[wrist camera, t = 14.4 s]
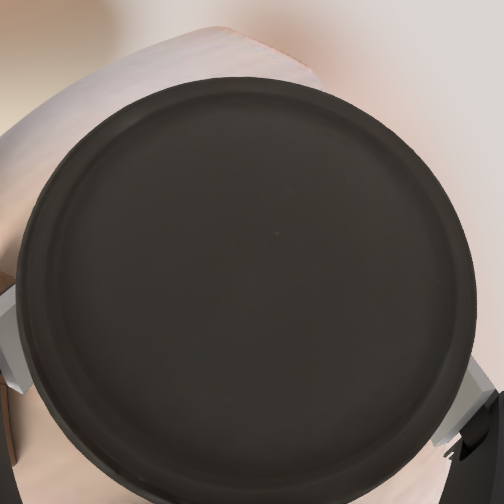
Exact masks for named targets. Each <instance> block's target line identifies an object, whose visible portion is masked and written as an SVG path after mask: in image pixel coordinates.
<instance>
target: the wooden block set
mask: <svg viewBox="0 0 504 504" xmlns="http://www.w3.org/2000/svg"><path fill="white" fill-rule="evenodd" d="M15 282H16V280H15V279H13V278H12V277H10V276H8V275H7V274H5V273H3V272H2V271H0V293H1V292H2V293H3V291H4V290H5V289H6V288H7V287H9V286H10V285H11V284H13V283H15ZM6 384H7V383H6V381H5V379H4V377H3V375H2V373H1V375H0V388H1V402H2V413H3V421H4V429H5V435H6V441H7V446H8V452H9V456H10V461H11V465H12V466H15V465H16V459H15V454H14V449H13V443H12V437H11V430H10V422H9V412H8V400H7V385H6Z"/></svg>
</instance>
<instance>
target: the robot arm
mask: <svg viewBox="0 0 504 504" xmlns="http://www.w3.org/2000/svg"><path fill="white" fill-rule="evenodd" d="M15 284H16V282H15V283H13V284H11V285H10V286H9V287H7V288H6V289H5V290H4V291H3V293H2V292H1V293H0V375H1V373H2V375H3V377H4V379H5V381H6V383H7V384H8V386H9V387H11V388H13V389H14V390H16V391H18V392H19V393H21V394H23V395H25V393H26V392H27V390H28V389H29V387H30V386H31V384H32V383H33V380H32V378H31V375H30V372H29V369H28V366H27V363H26V360H25V357H24V353H23V350H22V346H21V342H20V337H19V331H18V325H17V318H16V299H15ZM459 432H460V434H461V436H462V437H461V438H460V439H459V440H458V441H457V442H456V443H455V444H454V445H453V446H452V447H451V448H450V449H449V450H448V451H447V452H446V453H445V454H444V456H443V457H445V458H446V457H447V456H448V455H449V454H450V453H451V452H454V454H453V455H452V456H451V457H449V459H450V460H452V462H451V466H450V470H449V473H448V477H447V480H446V483H445V486H444V490H443V492H442V495H441V498H440V501H439V504H504V391H502V392H501V393H500V394H499V393H498V391H497V390H496V389H495V387H494V385H493V384H492V382H491V381H490V380H489V378H488V377H487V375H486V374H485V373H484V371H483V370H482V369H481V367H480V366H479V365H478V363H477V362H476V361H475V360H474V358H473V357H472V355H471V356H470V360H469V364H468V367H467V370H466V373H465V375H464V378H463V381H462V384H461V386H460V389H459V391H458V394H457V396H456V398H455V400H454V402H453V404H452V406H451V408H450V410H449V411H448V413H447V414H446V416H445V418H444V420H443V421H442V423H441V424H440V426H439V427H438V429H437V430H436V431H435V433H434V434H433V436H432V437H431V441H432V443H433V445H434V447H435V446H439V445H442V444H445V443H448V442H450V441H451V440H452V439H453V438H454V436H456V435H457V434H458V433H459ZM0 504H23V503H22V500H21V497H20V494H19V491H18V488H17V484H16V481H15V477H14V473H13V469H12V465H11V461H10V456H9V452H8V446H7V441H6V435H5V429H4V421H3V413H2V402H1V388H0Z"/></svg>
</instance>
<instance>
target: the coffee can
mask: <svg viewBox="0 0 504 504" xmlns="http://www.w3.org/2000/svg"><path fill="white" fill-rule="evenodd" d="M476 290H477V289H476V280H475V273H474V267H473V261H472V257H471V253H470V249H469V246H468V242H467V240H466V237H465V234H464V230H463V228H462V226H461V223H460V220H459V218H458V216H457V213H456V212H455V209H454V207H453V205H452V203H451V201H450V200H449V197H448V196H447V194H446V192H445V191H444V189H443V187H442V186H441V184H440V182H439V181H438V180H437V178H436V177H435V176H434V174H433V173H432V171H431V170H430V169H429V167H428V166H427V165H426V164H425V163H424V162H423V160H422V159H421V158H420V157H419V156H418V155H417V154H416V153H415V152H414V150H413V149H411V148H410V147H409V146H408V145H407V144H406V143H405V142H404V141H403V140H402V139H401V138H399V137H398V136H397V135H396V134H395V133H394V132H393V131H391V130H390V129H388V128H387V127H386V126H384V125H383V124H382V123H380V122H379V121H378V120H376V119H375V118H373V117H372V116H370V115H369V114H367V113H365V112H364V111H362V110H360V109H358V108H357V107H355V106H353V105H352V104H350V103H348V102H346V101H344V100H342V99H340V98H337V97H335V96H333V95H330V94H328V93H325V92H322V91H319V90H317V89H314V88H310V87H307V86H303V85H299V84H296V83H291V82H286V81H281V80H274V79H266V78H256V77H223V78H211V79H205V80H199V81H193V82H188V83H184V84H180V85H177V86H173V87H170V88H167V89H164V90H161V91H159V92H156V93H153V94H151V95H149V96H146V97H144V98H142V99H140V100H137V101H135V102H133V103H131V104H129V105H127V106H125V107H124V108H122V109H121V110H119V111H118V112H116V113H114V114H113V115H111V116H110V117H108V118H107V119H105V120H104V121H103V122H101V123H100V124H99V125H98V126H96V127H95V128H94V129H93V130H92V131H90V132H89V133H88V134H87V135H86V136H85V137H84V138H82V139H81V140H80V141H79V142H78V143H77V144H76V145H75V146H74V147H73V148H72V149H71V150H70V151H69V153H68V154H67V155H66V156H65V157H64V159H63V160H62V161H61V162H60V164H59V165H58V166H57V168H56V169H55V171H54V172H53V174H52V175H51V177H50V178H49V180H48V181H47V183H46V184H45V186H44V188H43V189H42V191H41V193H40V195H39V197H38V199H37V202H36V205H35V206H34V208H33V210H32V213H31V216H30V218H29V220H28V223H27V226H26V229H25V232H24V235H23V239H22V244H21V248H20V252H19V257H18V263H17V273H16V284H15V299H16V318H17V325H18V331H19V337H20V342H21V346H22V350H23V353H24V357H25V360H26V363H27V366H28V369H29V372H30V375H31V378H32V380H33V382H34V385H35V387H36V389H37V391H38V393H39V395H40V396H41V398H42V400H43V402H44V403H45V405H46V407H47V409H48V411H49V413H50V414H51V416H52V417H53V419H54V420H55V422H56V423H57V424H58V426H59V427H60V428H61V430H62V431H63V433H64V434H65V435H66V437H67V438H68V439H69V440H70V441H71V443H72V444H73V445H74V446H75V447H76V448H77V449H78V450H79V451H80V452H81V453H82V454H83V455H84V456H85V457H86V458H87V459H88V460H89V461H90V462H91V463H93V464H94V465H95V466H96V467H97V468H99V469H100V470H101V471H102V472H104V473H105V474H106V475H107V476H109V477H110V478H111V479H113V480H114V481H116V482H117V483H119V484H120V485H122V486H123V487H125V488H126V489H128V490H130V491H131V492H133V493H135V494H136V495H138V496H140V497H142V498H144V499H146V500H148V501H150V502H152V503H155V504H347V503H349V502H352V501H354V500H356V499H358V498H359V497H361V496H363V495H365V494H367V493H368V492H370V491H372V490H373V489H375V488H376V487H378V486H379V485H381V484H382V483H384V482H385V481H387V480H388V479H389V478H391V477H392V476H394V475H395V474H396V473H397V472H398V471H399V470H401V469H402V468H403V467H404V466H405V465H406V464H407V463H408V462H410V461H411V460H412V459H413V458H414V457H415V456H416V455H417V453H418V452H419V451H420V450H421V449H422V448H423V447H424V445H425V444H426V443H427V442H428V441H429V439H430V438H431V437H432V436H433V434H434V433H435V431H436V430H437V429H438V427H439V426H440V424H441V423H442V421H443V420H444V418H445V416H446V414H447V413H448V411H449V410H450V408H451V406H452V404H453V402H454V400H455V398H456V396H457V394H458V391H459V389H460V386H461V384H462V381H463V378H464V375H465V373H466V370H467V367H468V364H469V360H470V356H471V352H472V348H473V343H474V338H475V330H476V320H477V291H476Z"/></svg>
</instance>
